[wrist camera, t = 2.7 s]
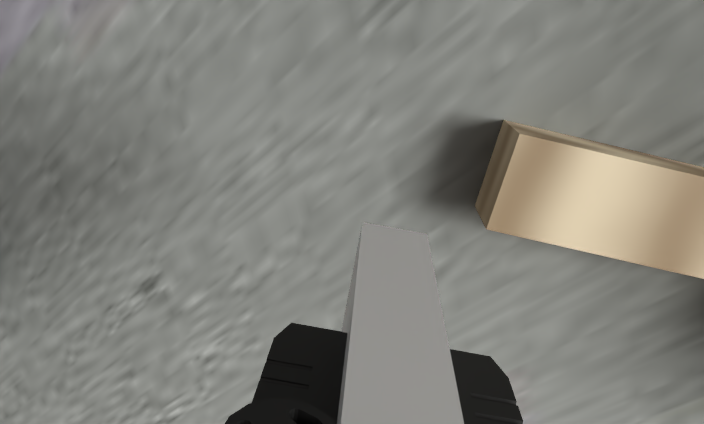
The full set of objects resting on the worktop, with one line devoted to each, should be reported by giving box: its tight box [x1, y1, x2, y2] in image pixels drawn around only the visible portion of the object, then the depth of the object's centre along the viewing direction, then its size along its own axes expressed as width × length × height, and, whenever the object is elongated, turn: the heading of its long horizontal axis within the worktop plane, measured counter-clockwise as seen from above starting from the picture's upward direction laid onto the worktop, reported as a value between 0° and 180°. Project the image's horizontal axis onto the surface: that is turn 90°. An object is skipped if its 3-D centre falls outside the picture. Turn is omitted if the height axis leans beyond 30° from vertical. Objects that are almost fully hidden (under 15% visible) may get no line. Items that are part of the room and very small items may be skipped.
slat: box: [475, 120, 704, 279], centre depth 22 cm, size 14×4×3 cm, turn 77°
